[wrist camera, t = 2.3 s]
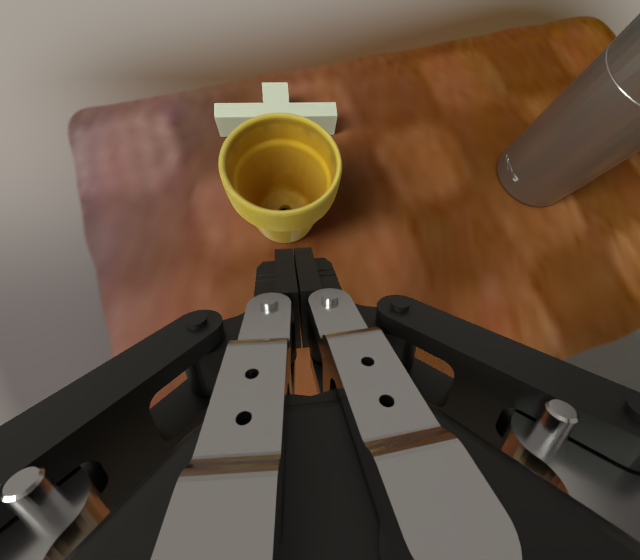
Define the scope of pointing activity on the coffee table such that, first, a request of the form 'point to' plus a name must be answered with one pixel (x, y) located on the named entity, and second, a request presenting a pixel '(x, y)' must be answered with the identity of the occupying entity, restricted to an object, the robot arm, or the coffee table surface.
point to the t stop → (274, 110)
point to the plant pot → (280, 173)
